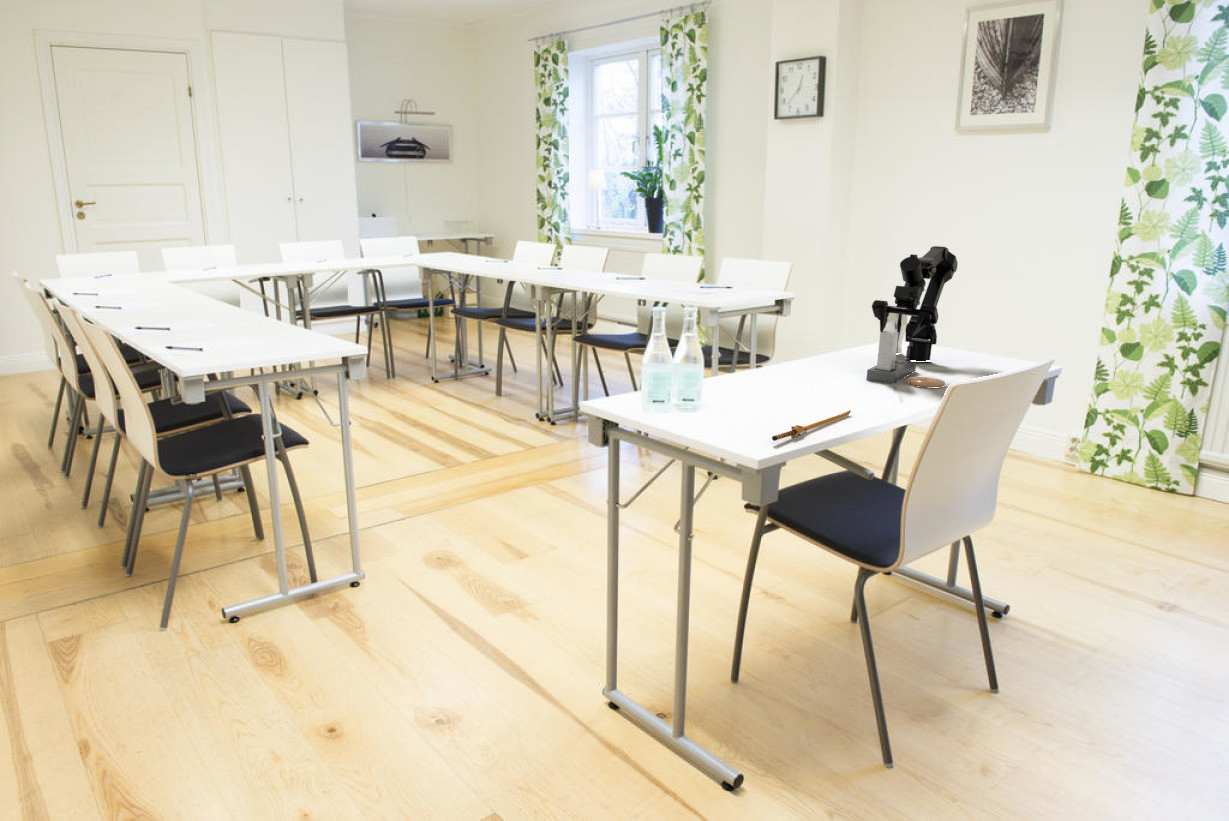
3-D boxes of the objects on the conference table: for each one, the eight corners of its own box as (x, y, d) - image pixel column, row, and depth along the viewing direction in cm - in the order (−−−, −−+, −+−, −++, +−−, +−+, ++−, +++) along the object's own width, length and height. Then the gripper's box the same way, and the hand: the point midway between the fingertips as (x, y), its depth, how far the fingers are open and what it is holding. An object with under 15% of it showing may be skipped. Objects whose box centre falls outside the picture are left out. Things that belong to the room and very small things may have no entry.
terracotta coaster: (935, 380, 251) (936, 377, 251) (950, 388, 242) (951, 385, 241) (902, 380, 251) (902, 376, 250) (916, 388, 241) (916, 384, 241)
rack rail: (889, 368, 266) (890, 358, 266) (915, 371, 262) (916, 361, 261) (866, 379, 250) (867, 369, 249) (893, 383, 246) (894, 373, 245)
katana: (851, 420, 212) (853, 409, 211) (776, 444, 187) (777, 432, 186) (846, 419, 213) (848, 408, 212) (771, 442, 188) (772, 431, 187)
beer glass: (900, 352, 292) (905, 308, 288) (905, 356, 285) (910, 311, 281) (879, 351, 292) (884, 307, 289) (884, 355, 286) (888, 310, 282)
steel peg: (880, 377, 254) (884, 330, 250) (893, 379, 252) (898, 332, 248) (875, 379, 251) (880, 332, 247) (889, 381, 248) (894, 334, 245)
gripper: (876, 273, 258) (860, 313, 252) (940, 278, 248) (924, 320, 242) (882, 296, 266) (867, 336, 260) (944, 302, 256) (929, 344, 250)
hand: (896, 333), depth 253 cm, fingers open, 9 cm apart
